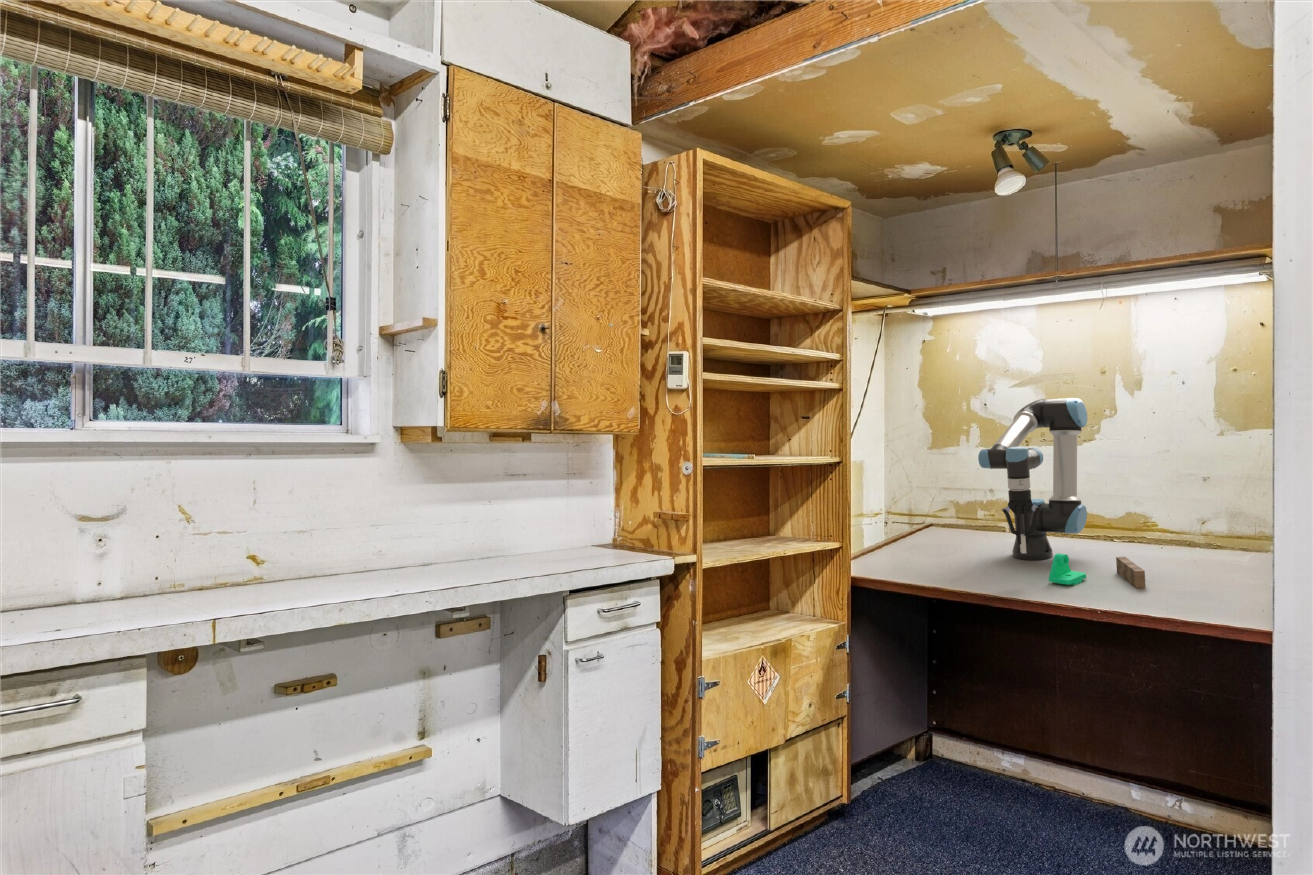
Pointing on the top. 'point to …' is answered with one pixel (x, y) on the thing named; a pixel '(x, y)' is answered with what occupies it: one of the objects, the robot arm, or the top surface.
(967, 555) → the top surface
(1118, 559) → the block
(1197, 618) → the top surface
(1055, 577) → the camera mount
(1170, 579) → the top surface
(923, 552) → the top surface
